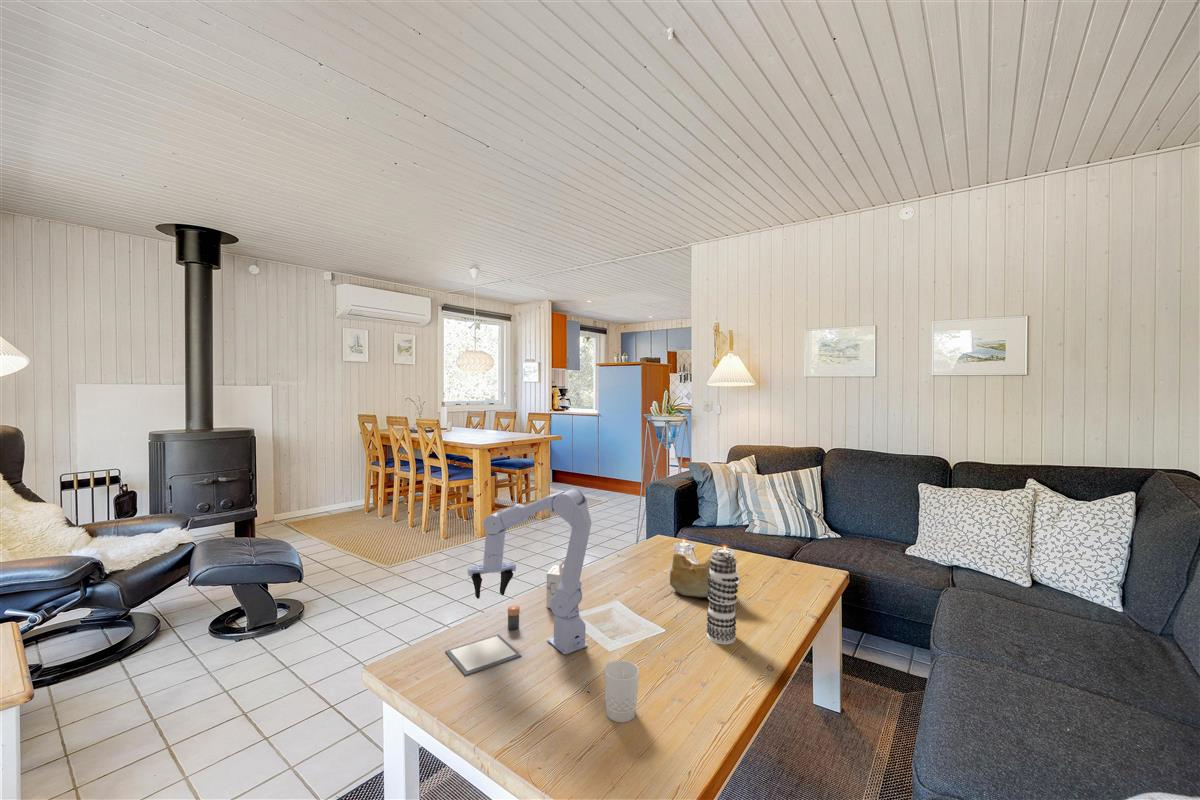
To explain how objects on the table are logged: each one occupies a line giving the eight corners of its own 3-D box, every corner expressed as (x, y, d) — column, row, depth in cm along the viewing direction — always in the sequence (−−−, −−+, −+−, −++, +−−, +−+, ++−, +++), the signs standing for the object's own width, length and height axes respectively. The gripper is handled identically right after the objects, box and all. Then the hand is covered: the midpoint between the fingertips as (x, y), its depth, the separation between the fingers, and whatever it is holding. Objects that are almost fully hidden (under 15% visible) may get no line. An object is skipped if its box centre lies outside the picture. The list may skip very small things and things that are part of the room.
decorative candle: (739, 633, 150) (741, 552, 150) (734, 648, 142) (736, 561, 141) (709, 627, 154) (711, 547, 154) (702, 640, 146) (704, 556, 145)
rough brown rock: (744, 597, 179) (745, 555, 180) (727, 609, 166) (728, 564, 167) (686, 583, 193) (687, 544, 194) (666, 593, 179) (667, 552, 180)
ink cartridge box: (552, 597, 174) (553, 556, 173) (566, 599, 173) (567, 557, 172) (545, 607, 165) (546, 564, 165) (559, 609, 164) (560, 565, 164)
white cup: (601, 702, 116) (602, 660, 116) (635, 701, 116) (636, 659, 116) (605, 725, 108) (606, 680, 108) (640, 724, 109) (641, 679, 108)
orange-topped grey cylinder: (521, 628, 151) (521, 608, 151) (510, 631, 149) (511, 611, 148) (515, 623, 154) (516, 604, 154) (505, 626, 151) (505, 607, 151)
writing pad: (521, 656, 135) (521, 654, 135) (465, 676, 125) (465, 673, 125) (498, 635, 146) (498, 633, 146) (445, 652, 136) (445, 650, 136)
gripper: (512, 545, 157) (508, 587, 158) (466, 549, 150) (462, 592, 151) (519, 553, 151) (515, 596, 152) (472, 557, 144) (468, 603, 145)
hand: (489, 595), depth 151 cm, fingers open, 7 cm apart
